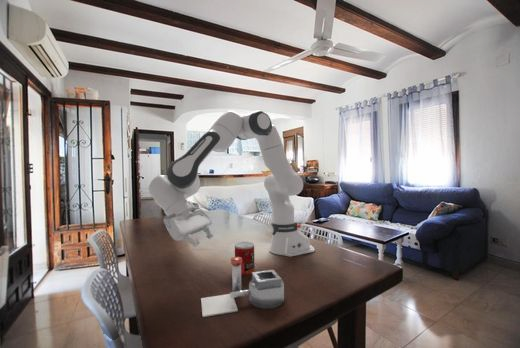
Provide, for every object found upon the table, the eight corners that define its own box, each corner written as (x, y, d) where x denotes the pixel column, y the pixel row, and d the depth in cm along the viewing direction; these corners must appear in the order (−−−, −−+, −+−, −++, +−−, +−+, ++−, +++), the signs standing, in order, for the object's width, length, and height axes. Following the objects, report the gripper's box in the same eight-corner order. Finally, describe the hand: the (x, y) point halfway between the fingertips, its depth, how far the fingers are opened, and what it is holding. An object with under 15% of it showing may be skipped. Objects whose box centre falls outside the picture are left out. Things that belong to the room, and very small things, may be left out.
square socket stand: (277, 288, 86) (276, 266, 86) (289, 305, 75) (289, 280, 75) (227, 296, 81) (227, 273, 81) (233, 315, 71) (233, 288, 71)
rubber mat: (232, 294, 82) (232, 293, 82) (237, 311, 73) (237, 309, 73) (201, 299, 80) (201, 298, 80) (202, 317, 70) (202, 315, 70)
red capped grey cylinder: (241, 287, 87) (240, 256, 87) (243, 292, 83) (243, 260, 83) (230, 289, 86) (230, 257, 86) (232, 294, 82) (231, 261, 82)
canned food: (247, 277, 95) (247, 248, 95) (231, 272, 100) (230, 245, 99) (258, 270, 102) (257, 243, 102) (242, 266, 106) (242, 240, 106)
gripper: (166, 211, 81) (192, 243, 78) (201, 202, 100) (223, 228, 97) (155, 224, 83) (181, 256, 79) (191, 213, 102) (213, 239, 99)
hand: (204, 241), depth 89 cm, fingers open, 8 cm apart
